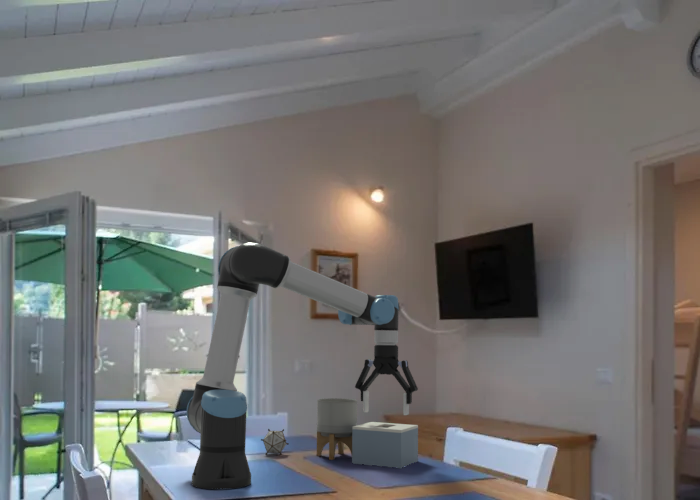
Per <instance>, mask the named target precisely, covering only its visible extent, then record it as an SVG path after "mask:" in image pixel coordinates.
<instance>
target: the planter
mask: <svg viewBox="0 0 700 500" xmlns="http://www.w3.org/2000/svg"><path fill="white" fill-rule="evenodd" d="M316 402H317V404H316V405H317V406H316V456H317V457H321V456H322V455H323V454H322V453H323V449H324V448H325V446H326V445H327V444H328V460H329V461H330V460H331V461H334V460H335V457H336V448H337V452H338V455H343V454H344V453H345V451H344V450H345V449H344V448H345V447H344V446H347V448H348V449H349V452H350V454H351V456H352V429H353V426H356V425H358V400H357V399H354V398H353V399H352V398H341V397H339V398H336V397H335V398H331V397H330V398H319V399H317V401H316Z"/></svg>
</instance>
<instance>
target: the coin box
mask: <svg viewBox="0 0 700 500" xmlns="http://www.w3.org/2000/svg"><path fill="white" fill-rule="evenodd" d="M418 461H419V425H418V424H405V423H393V422H392V423H391V422H390V423H389V422H379V421H377V422H376V421H370V422H369V421H368V422H365V423H361V424H357V425H356V426H353V429H352V455H351V464H352V463H353V464H355V465H362V464H364V465H365V466H372V465H377V466H376V467H382V466H388V467H387V468H392V467H397V468H396V469H403V468H405V467H404V466H406V467H407V465H408V466H410V465H412V464H411V463H413V464H414V462H415V463H418ZM409 464H410V465H409ZM402 467H403V468H402Z"/></svg>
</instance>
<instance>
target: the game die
mask: <svg viewBox="0 0 700 500" xmlns="http://www.w3.org/2000/svg"><path fill="white" fill-rule="evenodd" d="M267 431H268V432H267V434H266V435H265V436H264V437H263V438H261V439H260V441H262V443H263V445H264V448H265V451H266V452H265V455H266V456H267V455H268V454H280V456H282V455H283V453H282V452H283V450H284V449H285V447H286V446H287V445H289V443H288V442H287V439H286V438H285V434H284V431H285V429H284V428H283V429H282V430H270V428H268V429H267Z"/></svg>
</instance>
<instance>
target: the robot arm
mask: <svg viewBox="0 0 700 500" xmlns="http://www.w3.org/2000/svg"><path fill="white" fill-rule="evenodd" d="M217 270H218V271H217V272H218V275H219V276H218V277H219V278H218V282H217V287H216V288H217V290H218V291H219V293H220V296H219V297H220V298H219V302H218V307H217V311H216V314H215V315H216V316H215V320H214V325H213V331H212V334H211V339H210V342H209V343H210V344H209V347H208V348H209V349H208V353H207V356H206V358H207V359H206V362H205V366H204V372H203V375H202V378H201V379H199V380H197V381H196V382H195V388H194V391H193V395H192V397H191V398H190V399H189V401H188V403H187V406H186V418H187V421H188V423H189V424H190V426H191V427H192V429H193V430H194V431H196V432H197V433H199V435H200V439H199V455H198V457H197V460H196V463H195V466H194V469H193V473H192V475H191V486H193V487H195V488H199V489H206V490H232V489H239V488H244V487H248V486H249V485H251V483H252V473H251V470H250V466H249V462H248V459H247V455H246V438H247V437H246V436H247V434H246V433H247V411H248V404H247V401H248V400H247V396H246V395H245V394H244V393H243V392H241V391H238V388H236V386H235V384H234V380H235V376H236V370H237V366H238V361H239V357H240V352H241V347H242V342H243V337H244V333H245V327H246V323H247V318H248V313H249V309H250V304H251V301H252V300H253V299H254V298H255V297H257V296H258V291H259V287H260V285H265V286H269V287H271V288H274V289H278V288H280V287H281V288H283V289H285V290H288V291H291V292H293V293H296V294H297V295H300V296H304V297H305V298H308V299H310V300H313V301H316V302H318V303H320V304H322V305H326V306H328V307H331V308H334V309H336V310H338V311H337V315H338V316H337V317H338V320H339V322H340V323H341V324H342V325H348V326H354V325H355V326H357V325H358V326H374V329H373V330H374V339H373V340H374V341H373V342H374V344H375V345H374V346H373V349H374V351H373V353H374V354H373V357H374V359H365V360H364V365H363V369H362V370H361V372H360V374H359V377H358V379H357V381H356V384H355V386H354V388H355V390H356V389H357V390H359V391H360V401H361V402H362V413H369V410H370V391H369V390H368V388H369V387H370V386H371V385H372V384H373V383H374V382H375V380H376V378H377V377H378V376H379V375H388V376H389V375H392V376H393V377H394V378H395V379H396V381H397V382H398V383H399V385H400V387H402V389H403V390H404V391H405V392H404V393H402V394H403V401H402V402H403V404H402V405H403V408H402V409H403V414H402V415H403V416H407V415H410V405H411V404H412V403H413V402H412V399H413V398H412V396H413V395H412V394H413V393H414V392H417V391H418V390H419V387H418V386H417V384H416V381H415V380H414V377H413V375H412V373H411V371H410V368H409V362H408V360H407V359H405V360H401V361H399V346H398V344H399V312H400V309H399V298H398V296H397V295H392V294H377V295H375V296H373V295H371V294H369V293H366V292H365V291H362V290H360V289H356V288H354V287H352V286H350V285H347V284H345V283H342V282H340V281H339V280H336V279H333V278H331V277H330V276H329V277H328V276H326V275H324V274H322V273H319V272H318V271H315V270H312V269H309V268H308V267H305V266H303V265H300V264H298V263H295V262H293V261H291V257H290V256H288V255H286V254H284V253H281V252H279V251H277V250H275V249H273V248H271V247H268V246H265V245H263V244H261V243H258V242H245V243H242V244H240V245H237V246H233V247H230V249H228V250H226V251H225V252H224V253H223V255H222V256H221V258H220V259H219V262H218V266H217ZM373 366H374V369H373V371H372V372H371V373H370V375H369V377H368V374H369V372H370V370H371V367H373ZM398 367H400V368H401V369H402V373H403V374H404V377H405V378H404V377H403V376H402V375H401V372H400V371H399V369H398ZM367 377H368V378H367ZM405 379H406V380H405Z"/></svg>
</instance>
